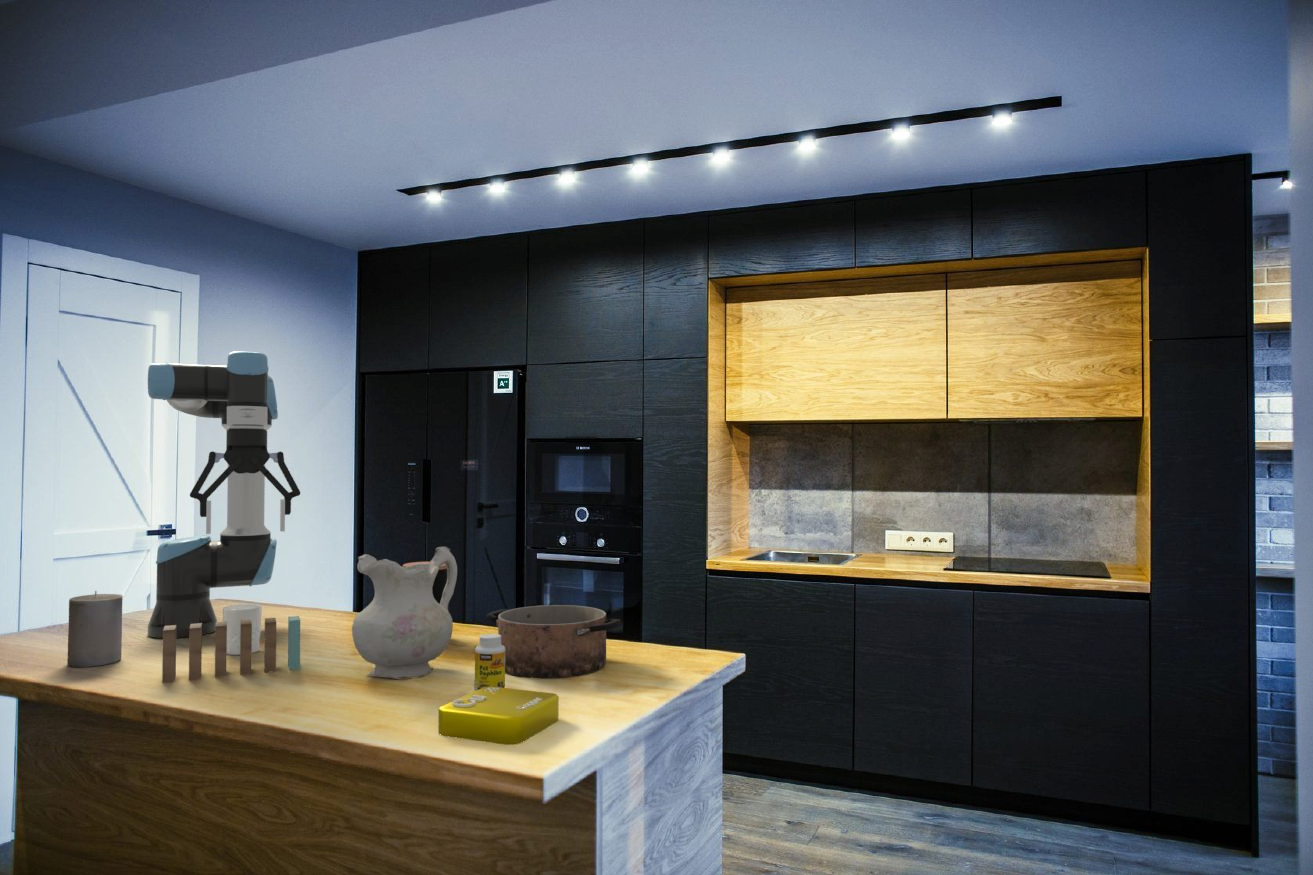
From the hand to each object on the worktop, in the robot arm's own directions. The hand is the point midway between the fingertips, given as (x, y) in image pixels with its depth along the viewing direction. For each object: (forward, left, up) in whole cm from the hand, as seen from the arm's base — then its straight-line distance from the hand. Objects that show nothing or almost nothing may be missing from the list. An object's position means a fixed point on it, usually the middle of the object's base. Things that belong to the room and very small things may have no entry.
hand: (246, 532), depth 176 cm
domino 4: (+1, 0, -28) cm, 28 cm away
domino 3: (+1, -4, -28) cm, 28 cm away
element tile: (+58, +37, -28) cm, 74 cm away
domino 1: (+1, -13, -28) cm, 31 cm away
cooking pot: (+23, +58, -28) cm, 68 cm away
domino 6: (+1, +9, -28) cm, 29 cm away
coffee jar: (-13, +39, -28) cm, 50 cm away
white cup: (-19, 0, -28) cm, 34 cm away
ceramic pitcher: (+15, +30, -28) cm, 44 cm away
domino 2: (+1, -9, -28) cm, 29 cm away
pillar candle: (-22, -28, -28) cm, 46 cm away
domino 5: (+1, +5, -28) cm, 28 cm away
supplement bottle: (+37, +41, -28) cm, 62 cm away
